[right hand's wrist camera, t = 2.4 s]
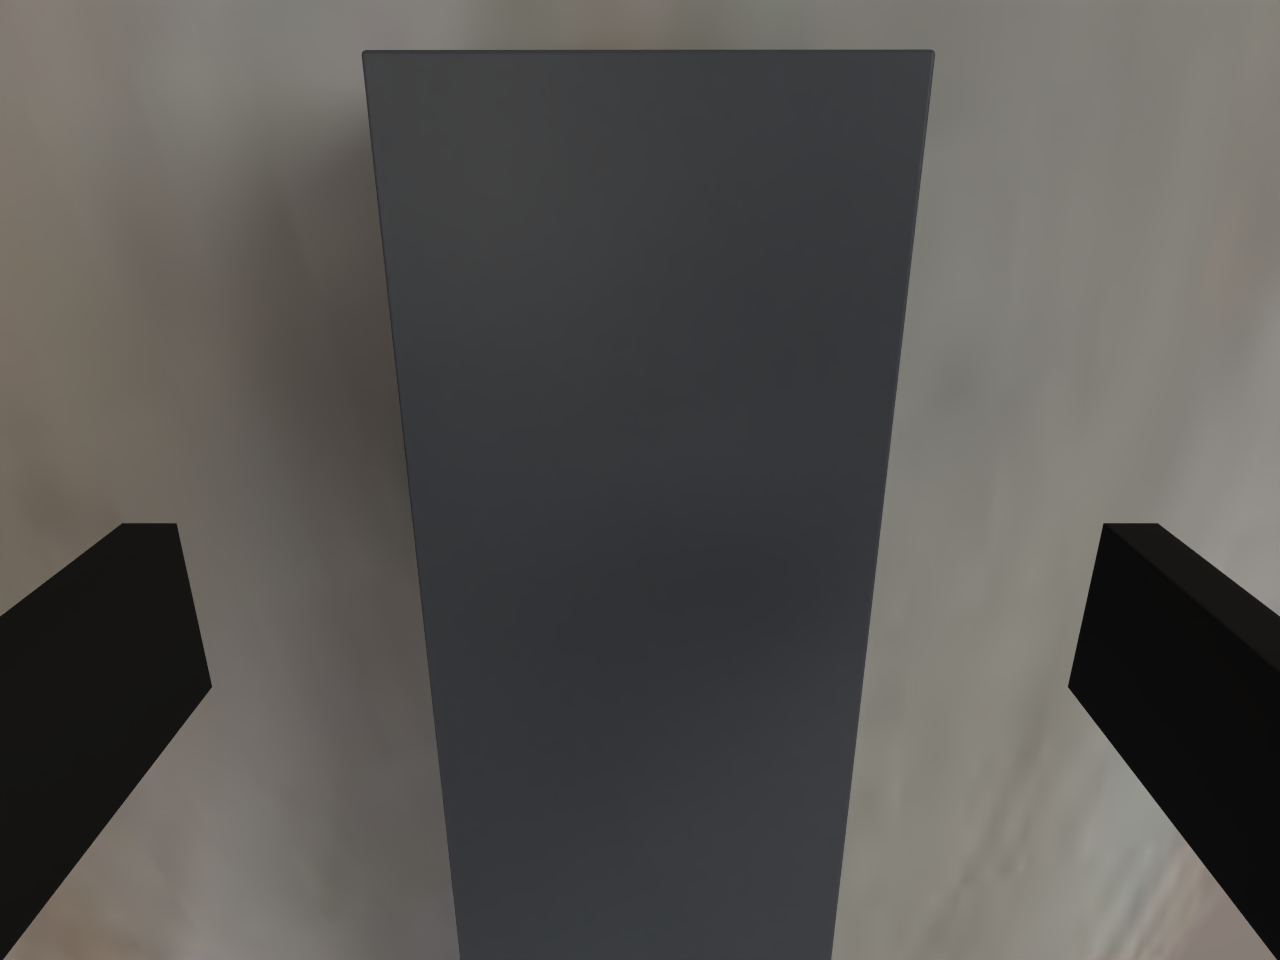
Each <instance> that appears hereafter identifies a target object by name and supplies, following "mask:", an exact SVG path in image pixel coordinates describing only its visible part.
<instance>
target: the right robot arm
mask: <svg viewBox="0 0 1280 960" xmlns="http://www.w3.org/2000/svg"><path fill="white" fill-rule="evenodd" d="M211 688H212V684H211V680H210V675H209V671H208V666H207V661H206V657H205V652H204V648H203V643H202V638H201V634H200V629H199V625H198V620H197V616H196V611H195V606H194V602H193V597H192V593H191V588H190V583H189V579H188V574H187V570H186V565H185V560H184V556H183V551H182V547H181V542H180V538H179V533H178V528H177V524H176V523H122V524H121V525H120V526H118V527H117V528H116V529H114V530H113V531H112V532H110V533H109V534H108V535H106V536H105V537H104V538H103V539H101V540H100V541H99V542H97V543H96V544H95V545H93V546H92V547H91V548H89V549H88V550H87V551H85V552H84V553H83V554H82V555H80V556H79V557H78V558H76V559H75V560H74V561H72V562H71V563H70V564H68V565H67V566H66V567H65V568H63V569H62V570H61V571H59V572H58V573H57V574H55V575H54V576H53V577H51V578H50V579H49V580H47V581H46V582H45V583H44V584H42V585H41V586H40V587H38V588H37V589H36V590H34V591H33V592H32V593H30V594H29V595H28V596H27V597H25V598H24V599H23V600H21V601H20V602H19V603H17V604H16V605H15V606H13V607H12V608H11V609H9V610H8V611H7V612H6V613H4V614H3V615H2V616H0V960H3V959H4V958H5V956H6V955H7V954H8V952H9V951H10V950H11V949H12V947H13V946H14V945H15V943H16V942H17V941H18V939H19V938H20V937H21V936H22V934H23V933H24V932H25V930H26V929H27V928H28V926H29V925H30V924H31V922H32V921H33V920H34V919H35V917H36V916H37V915H38V913H39V912H40V911H41V909H42V908H43V907H44V905H45V904H46V903H47V902H48V900H49V899H50V898H51V896H52V895H53V894H54V892H55V891H56V890H57V889H58V887H59V886H60V885H61V883H62V882H63V881H64V879H65V878H66V877H67V875H68V874H69V873H70V872H71V870H72V869H73V868H74V866H75V865H76V864H77V862H78V861H79V860H80V859H81V857H82V856H83V855H84V853H85V852H86V851H87V849H88V848H89V847H90V845H91V844H92V843H93V842H94V840H95V839H96V838H97V836H98V835H99V834H100V832H101V831H102V830H103V828H104V827H105V826H106V825H107V823H108V822H109V821H110V819H111V818H112V817H113V815H114V814H115V813H116V812H117V810H118V809H119V808H120V806H121V805H122V804H123V802H124V801H125V800H126V798H127V797H128V796H129V795H130V793H131V792H132V791H133V789H134V788H135V787H136V785H137V784H138V783H139V782H140V780H141V779H142V778H143V776H144V775H145V774H146V772H147V771H148V770H149V768H150V767H151V766H152V765H153V763H154V762H155V761H156V759H157V758H158V757H159V755H160V754H161V753H162V752H163V750H164V749H165V748H166V746H167V745H168V744H169V742H170V741H171V740H172V738H173V737H174V736H175V735H176V733H177V732H178V731H179V729H180V728H181V727H182V725H183V724H184V723H185V721H186V720H187V719H188V718H189V716H190V715H191V714H192V712H193V711H194V710H195V708H196V707H197V706H198V705H199V703H200V702H201V701H202V699H203V698H204V697H205V695H206V694H207V693H208V691H209V690H210V689H211ZM1068 688H1069V689H1070V690H1071V691H1072V693H1073V694H1074V695H1075V697H1076V698H1077V699H1078V701H1079V702H1080V703H1081V705H1082V706H1083V707H1084V708H1085V710H1086V711H1087V712H1088V714H1089V715H1090V716H1091V718H1092V719H1093V720H1094V721H1095V723H1096V724H1097V725H1098V727H1099V728H1100V729H1101V731H1102V732H1103V733H1104V735H1105V736H1106V737H1107V738H1108V740H1109V741H1110V742H1111V744H1112V745H1113V746H1114V748H1115V749H1116V750H1117V752H1118V753H1119V754H1120V755H1121V757H1122V758H1123V759H1124V761H1125V762H1126V763H1127V765H1128V766H1129V767H1130V768H1131V770H1132V771H1133V772H1134V774H1135V775H1136V776H1137V778H1138V779H1139V780H1140V782H1141V783H1142V784H1143V785H1144V787H1145V788H1146V789H1147V791H1148V792H1149V793H1150V795H1151V796H1152V797H1153V798H1154V800H1155V801H1156V802H1157V804H1158V805H1159V806H1160V808H1161V809H1162V810H1163V812H1164V813H1165V814H1166V815H1167V817H1168V818H1169V819H1170V821H1171V822H1172V823H1173V825H1174V826H1175V827H1176V829H1177V830H1178V831H1179V832H1180V834H1181V835H1182V836H1183V838H1184V839H1185V840H1186V842H1187V843H1188V844H1189V845H1190V847H1191V848H1192V849H1193V851H1194V852H1195V853H1196V855H1197V856H1198V857H1199V859H1200V860H1201V861H1202V862H1203V864H1204V865H1205V866H1206V868H1207V869H1208V870H1209V872H1210V873H1211V874H1212V875H1213V877H1214V878H1215V879H1216V881H1217V882H1218V883H1219V885H1220V886H1221V887H1222V889H1223V890H1224V891H1225V892H1226V894H1227V895H1228V896H1229V898H1230V899H1231V900H1232V902H1233V903H1234V904H1235V905H1236V907H1237V908H1238V909H1239V911H1240V912H1241V913H1242V915H1243V916H1244V917H1245V919H1246V920H1247V921H1248V922H1249V924H1250V925H1251V926H1252V928H1253V929H1254V930H1255V932H1256V933H1257V934H1258V936H1259V937H1260V938H1261V939H1262V941H1263V942H1264V943H1265V945H1266V946H1267V947H1268V949H1269V950H1270V951H1271V952H1272V954H1273V955H1274V956H1275V958H1276V959H1277V960H1280V616H1278V615H1277V614H1276V613H1274V612H1273V611H1272V610H1271V609H1269V608H1268V607H1267V606H1265V605H1264V604H1263V603H1261V602H1260V601H1259V600H1257V599H1256V598H1255V597H1253V596H1252V595H1251V594H1250V593H1248V592H1247V591H1246V590H1244V589H1243V588H1242V587H1240V586H1239V585H1238V584H1236V583H1235V582H1234V581H1233V580H1231V579H1230V578H1229V577H1227V576H1226V575H1225V574H1223V573H1222V572H1221V571H1219V570H1218V569H1217V568H1215V567H1214V566H1213V565H1212V564H1210V563H1209V562H1208V561H1206V560H1205V559H1204V558H1202V557H1201V556H1200V555H1198V554H1197V553H1196V552H1195V551H1193V550H1192V549H1191V548H1189V547H1188V546H1187V545H1185V544H1184V543H1183V542H1181V541H1180V540H1179V539H1177V538H1176V537H1175V536H1174V535H1172V534H1171V533H1170V532H1168V531H1167V530H1166V529H1164V528H1163V527H1162V526H1160V525H1159V524H1158V523H1104V524H1103V528H1102V533H1101V538H1100V542H1099V547H1098V551H1097V556H1096V560H1095V565H1094V570H1093V574H1092V579H1091V583H1090V588H1089V593H1088V597H1087V602H1086V606H1085V611H1084V616H1083V620H1082V625H1081V629H1080V634H1079V638H1078V643H1077V648H1076V652H1075V657H1074V661H1073V666H1072V671H1071V675H1070V680H1069V684H1068Z"/></svg>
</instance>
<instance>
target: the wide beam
mask: <svg viewBox="0 0 1280 960" xmlns="http://www.w3.org/2000/svg"><path fill="white" fill-rule="evenodd" d="M934 59H935V52H934V51H933V50H365V51H363V52H362V62H363V71H364V80H365V89H366V98H367V108H368V117H369V126H370V135H371V144H372V153H373V163H374V172H375V181H376V190H377V199H378V208H379V218H380V227H381V236H382V245H383V254H384V263H385V272H386V282H387V291H388V300H389V309H390V318H391V327H392V337H393V346H394V355H395V364H396V373H397V382H398V392H399V401H400V410H401V419H402V428H403V437H404V447H405V456H406V465H407V474H408V483H409V492H410V502H411V511H412V520H413V529H414V538H415V547H416V556H417V566H418V575H419V584H420V593H421V602H422V611H423V621H424V630H425V639H426V648H427V657H428V666H429V676H430V685H431V694H432V703H433V712H434V721H435V731H436V740H437V749H438V758H439V767H440V776H441V786H442V795H443V804H444V813H445V822H446V831H447V841H448V850H449V859H450V868H451V877H452V886H453V895H454V905H455V914H456V923H457V932H458V941H459V950H460V960H831V955H832V946H833V938H834V929H835V920H836V911H837V903H838V894H839V885H840V877H841V868H842V859H843V851H844V842H845V833H846V824H847V816H848V807H849V798H850V790H851V781H852V772H853V764H854V755H855V746H856V738H857V729H858V720H859V711H860V703H861V694H862V685H863V677H864V668H865V659H866V651H867V642H868V633H869V624H870V616H871V607H872V598H873V590H874V581H875V572H876V564H877V555H878V546H879V537H880V529H881V520H882V511H883V503H884V494H885V485H886V477H887V468H888V459H889V450H890V442H891V433H892V424H893V416H894V407H895V398H896V390H897V381H898V372H899V364H900V355H901V346H902V337H903V329H904V320H905V311H906V303H907V294H908V285H909V277H910V268H911V259H912V250H913V242H914V233H915V224H916V216H917V207H918V198H919V190H920V181H921V172H922V163H923V155H924V146H925V137H926V129H927V120H928V111H929V103H930V94H931V85H932V76H933V68H934Z"/></svg>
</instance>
